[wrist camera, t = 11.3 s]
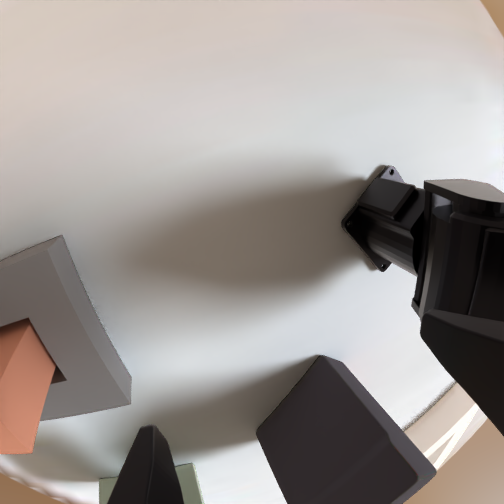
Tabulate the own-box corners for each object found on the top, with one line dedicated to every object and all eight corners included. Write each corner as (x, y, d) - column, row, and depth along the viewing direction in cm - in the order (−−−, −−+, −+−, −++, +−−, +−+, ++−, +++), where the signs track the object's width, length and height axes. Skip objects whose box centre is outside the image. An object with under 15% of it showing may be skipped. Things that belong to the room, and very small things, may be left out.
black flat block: (281, 435, 29) (341, 546, 15) (249, 430, 27) (306, 556, 13) (346, 361, 27) (443, 470, 14) (316, 350, 26) (420, 478, 12)
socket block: (62, 234, 17) (47, 249, 14) (131, 377, 21) (130, 404, 18) (-49, 284, 14) (-68, 301, 12) (22, 400, 19) (14, 424, 16)
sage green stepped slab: (156, 415, 23) (169, 511, 14) (194, 465, 27) (214, 540, 18) (51, 434, 21) (40, 516, 12) (102, 481, 24) (106, 550, 16)
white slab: (466, 367, 40) (490, 386, 34) (464, 416, 51) (479, 430, 45) (330, 480, 39) (347, 507, 33) (366, 496, 50) (378, 514, 44)
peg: (39, 307, 17) (-12, 406, 8) (62, 348, 19) (32, 453, 10) (6, 319, 17) (-48, 410, 8) (28, 357, 18) (-8, 454, 9)
